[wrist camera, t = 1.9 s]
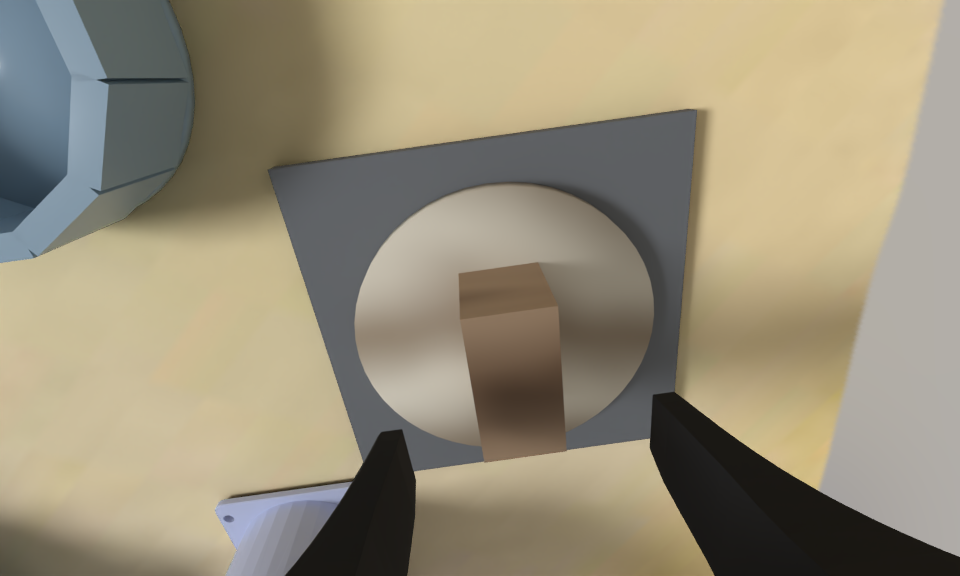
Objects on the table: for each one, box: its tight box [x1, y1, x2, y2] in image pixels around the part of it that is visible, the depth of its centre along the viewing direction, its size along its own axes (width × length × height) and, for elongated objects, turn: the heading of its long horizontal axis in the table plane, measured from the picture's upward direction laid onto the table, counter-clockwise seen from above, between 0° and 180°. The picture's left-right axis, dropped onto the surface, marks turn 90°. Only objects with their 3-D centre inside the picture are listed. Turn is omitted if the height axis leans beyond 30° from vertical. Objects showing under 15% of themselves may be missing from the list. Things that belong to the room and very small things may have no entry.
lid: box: [354, 182, 654, 463], centre depth 17 cm, size 12×12×4 cm
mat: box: [268, 109, 697, 471], centre depth 19 cm, size 15×15×1 cm
